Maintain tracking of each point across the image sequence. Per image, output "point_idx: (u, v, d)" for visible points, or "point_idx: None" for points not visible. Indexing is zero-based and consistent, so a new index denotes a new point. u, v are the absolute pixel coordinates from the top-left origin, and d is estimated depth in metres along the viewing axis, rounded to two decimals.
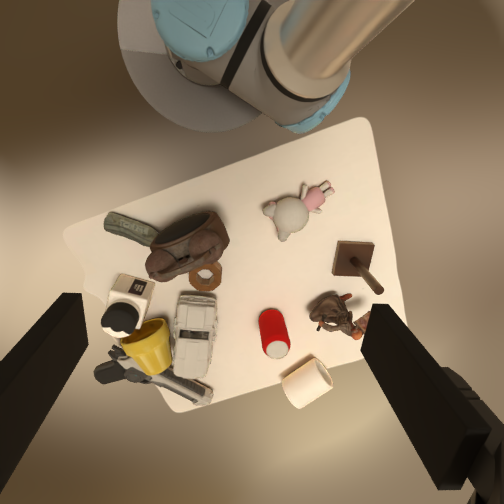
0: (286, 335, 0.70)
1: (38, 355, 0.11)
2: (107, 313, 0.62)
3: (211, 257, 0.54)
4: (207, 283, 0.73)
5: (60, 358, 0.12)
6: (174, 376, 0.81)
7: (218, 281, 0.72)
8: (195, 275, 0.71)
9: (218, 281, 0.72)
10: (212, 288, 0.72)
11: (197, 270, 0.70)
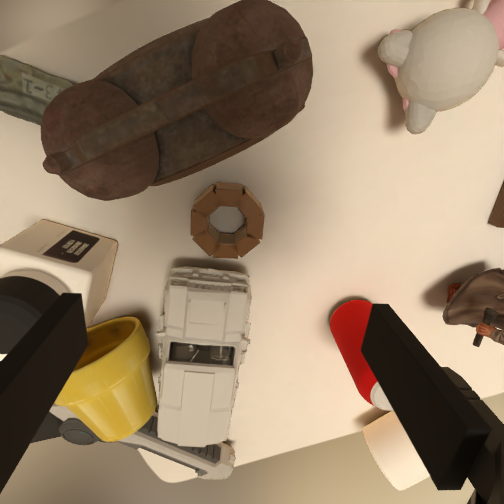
0: None
1: (38, 355, 0.11)
2: None
3: (277, 90, 0.14)
4: (231, 241, 0.33)
5: (60, 358, 0.12)
6: None
7: (257, 236, 0.32)
8: (205, 220, 0.31)
9: (256, 235, 0.32)
10: (242, 251, 0.33)
11: (210, 208, 0.31)
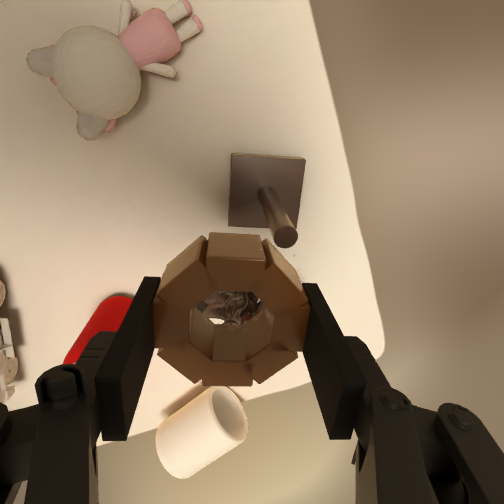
0: None
1: (143, 326, 0.13)
2: None
3: None
4: (238, 350, 0.16)
5: (151, 331, 0.14)
6: None
7: (293, 346, 0.15)
8: (184, 320, 0.15)
9: (291, 345, 0.15)
10: (262, 374, 0.16)
11: (194, 296, 0.14)
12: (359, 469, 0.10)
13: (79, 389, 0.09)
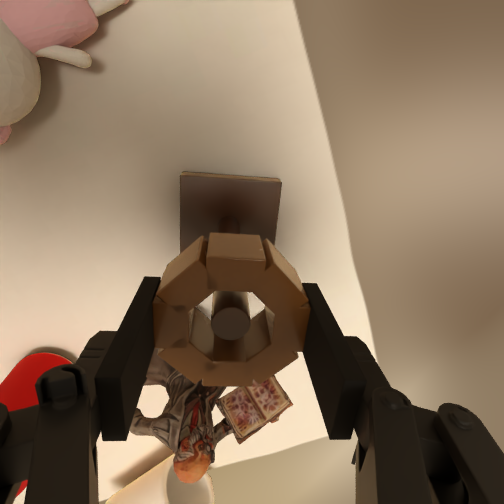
0: None
1: (143, 326, 0.13)
2: None
3: None
4: (239, 351, 0.16)
5: (151, 331, 0.14)
6: None
7: (293, 346, 0.15)
8: (184, 320, 0.15)
9: (292, 345, 0.15)
10: (262, 374, 0.16)
11: (194, 296, 0.14)
12: (359, 469, 0.10)
13: (79, 389, 0.09)
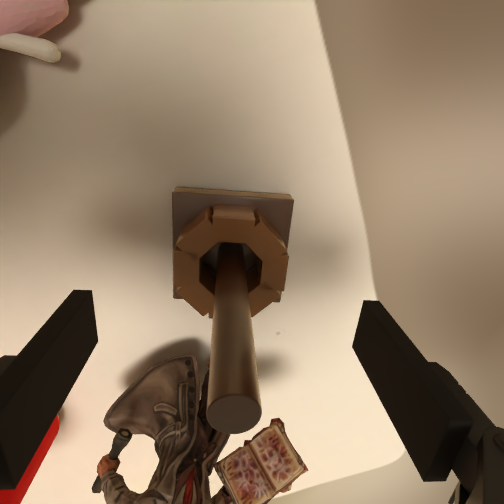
0: None
1: (53, 350, 0.11)
2: None
3: None
4: None
5: (73, 353, 0.13)
6: None
7: (276, 287, 0.21)
8: (196, 264, 0.20)
9: (275, 286, 0.21)
10: (253, 309, 0.21)
11: (203, 246, 0.19)
12: None
13: None
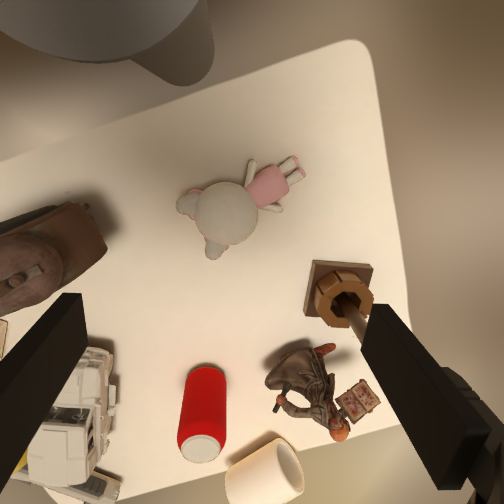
0: (219, 422, 0.41)
1: (38, 355, 0.11)
2: None
3: (18, 294, 0.25)
4: None
5: (60, 358, 0.12)
6: None
7: (366, 312, 0.43)
8: (330, 301, 0.42)
9: (365, 312, 0.43)
10: None
11: (335, 293, 0.41)
12: None
13: None
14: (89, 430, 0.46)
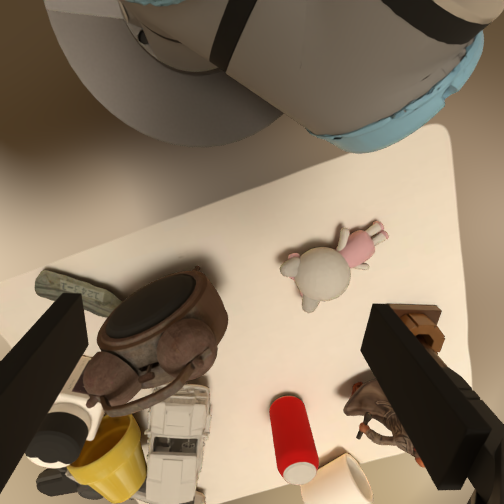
0: (313, 449, 0.47)
1: (38, 355, 0.11)
2: None
3: (195, 372, 0.31)
4: None
5: (60, 358, 0.12)
6: None
7: (437, 350, 0.48)
8: None
9: (436, 350, 0.48)
10: None
11: None
12: None
13: None
14: None
